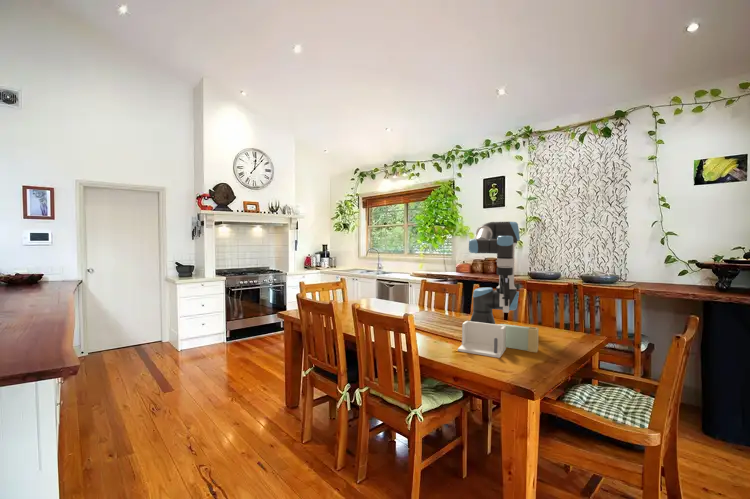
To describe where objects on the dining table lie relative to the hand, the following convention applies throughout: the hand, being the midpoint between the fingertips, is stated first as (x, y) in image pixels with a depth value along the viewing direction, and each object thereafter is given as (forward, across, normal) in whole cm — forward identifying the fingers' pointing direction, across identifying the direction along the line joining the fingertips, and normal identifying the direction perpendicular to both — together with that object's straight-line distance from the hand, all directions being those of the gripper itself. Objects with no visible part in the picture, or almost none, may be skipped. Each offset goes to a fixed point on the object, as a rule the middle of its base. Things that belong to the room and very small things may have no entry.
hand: (504, 309), depth 183 cm
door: (+20, -2, +7) cm, 21 cm away
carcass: (+20, +4, -11) cm, 23 cm away
